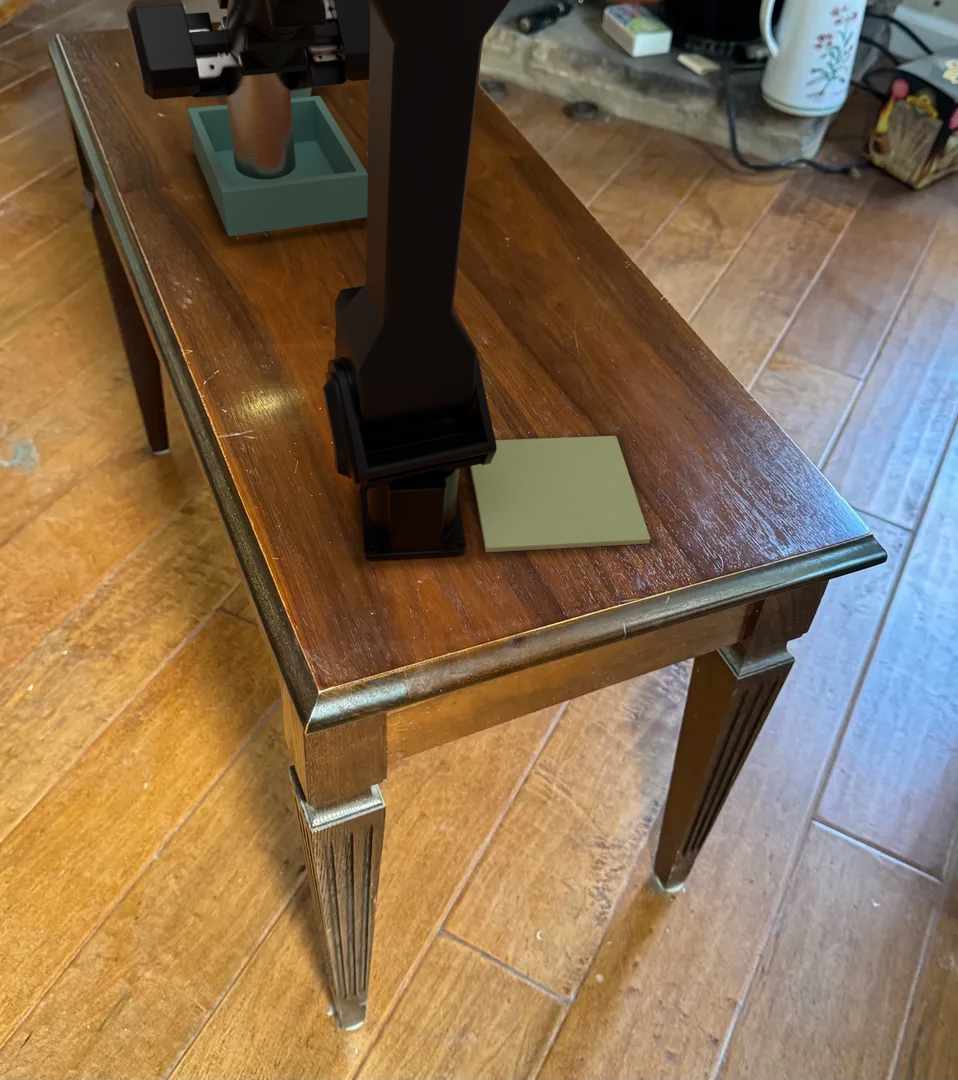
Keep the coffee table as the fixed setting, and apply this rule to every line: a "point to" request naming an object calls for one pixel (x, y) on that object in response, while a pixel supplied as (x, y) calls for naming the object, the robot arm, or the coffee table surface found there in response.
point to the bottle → (260, 123)
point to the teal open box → (295, 199)
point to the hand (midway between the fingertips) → (254, 87)
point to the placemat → (557, 495)
